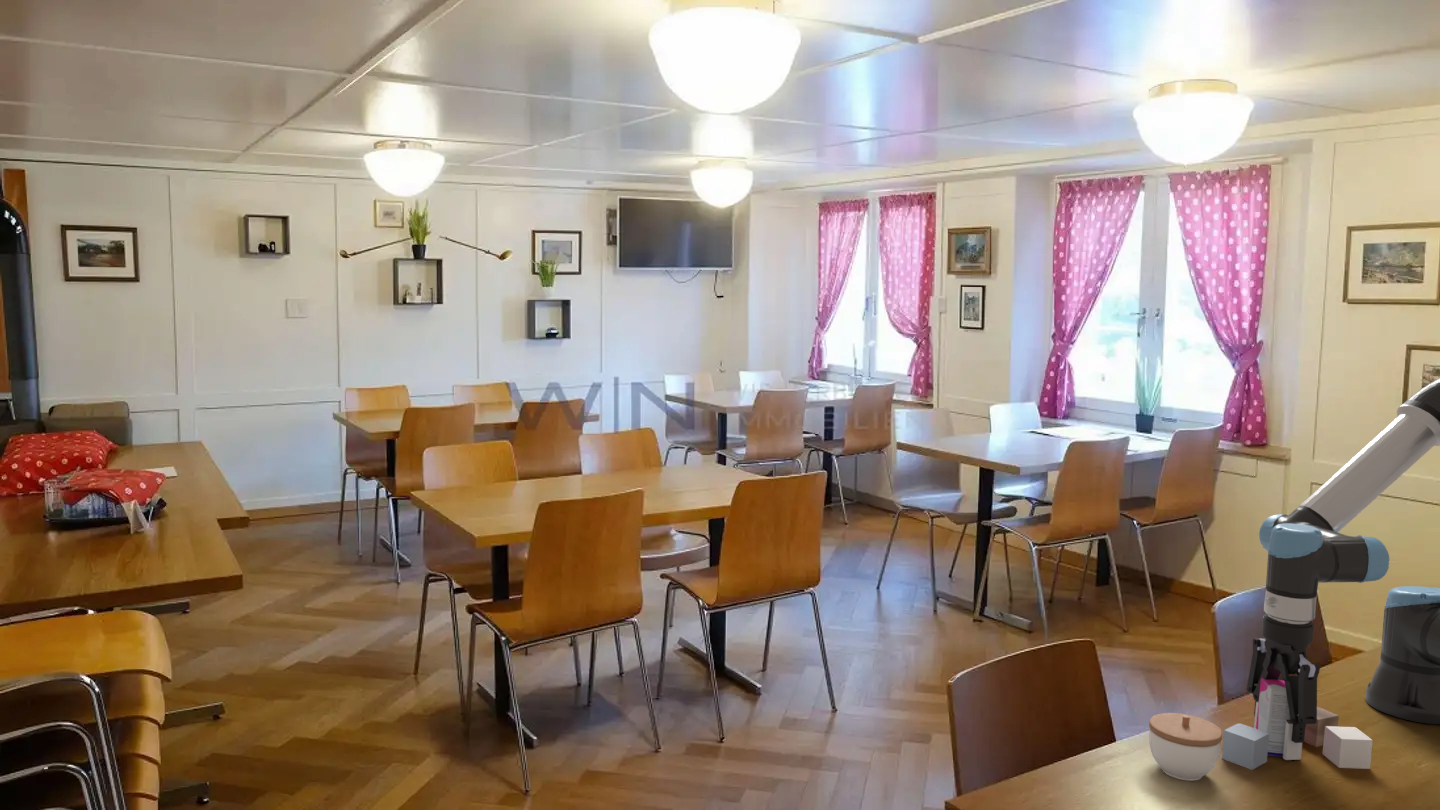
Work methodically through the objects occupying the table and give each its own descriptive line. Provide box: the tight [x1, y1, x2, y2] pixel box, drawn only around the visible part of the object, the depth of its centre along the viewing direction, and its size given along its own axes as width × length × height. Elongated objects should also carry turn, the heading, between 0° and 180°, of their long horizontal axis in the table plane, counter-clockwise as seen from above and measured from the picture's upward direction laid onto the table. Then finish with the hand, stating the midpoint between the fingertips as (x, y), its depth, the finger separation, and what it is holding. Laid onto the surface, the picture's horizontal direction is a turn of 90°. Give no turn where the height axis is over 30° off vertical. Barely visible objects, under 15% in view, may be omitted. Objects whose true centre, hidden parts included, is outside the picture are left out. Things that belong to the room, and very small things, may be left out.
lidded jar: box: [1148, 712, 1223, 782], centre depth 169 cm, size 11×11×9 cm
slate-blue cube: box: [1221, 722, 1269, 771], centre depth 174 cm, size 5×5×5 cm
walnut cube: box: [1303, 706, 1340, 748], centre depth 183 cm, size 5×5×5 cm
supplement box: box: [1256, 678, 1298, 758], centre depth 178 cm, size 6×6×12 cm
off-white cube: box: [1322, 726, 1374, 770], centre depth 175 cm, size 5×5×5 cm
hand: (1276, 748), depth 179 cm, fingers closed on supplement box, 7 cm apart
